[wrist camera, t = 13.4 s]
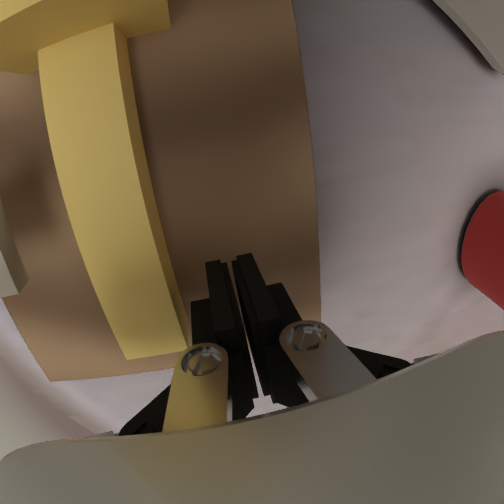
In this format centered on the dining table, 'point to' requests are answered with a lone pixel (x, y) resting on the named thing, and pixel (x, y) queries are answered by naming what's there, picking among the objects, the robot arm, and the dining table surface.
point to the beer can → (486, 248)
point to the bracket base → (171, 180)
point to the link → (102, 155)
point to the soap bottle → (480, 26)
